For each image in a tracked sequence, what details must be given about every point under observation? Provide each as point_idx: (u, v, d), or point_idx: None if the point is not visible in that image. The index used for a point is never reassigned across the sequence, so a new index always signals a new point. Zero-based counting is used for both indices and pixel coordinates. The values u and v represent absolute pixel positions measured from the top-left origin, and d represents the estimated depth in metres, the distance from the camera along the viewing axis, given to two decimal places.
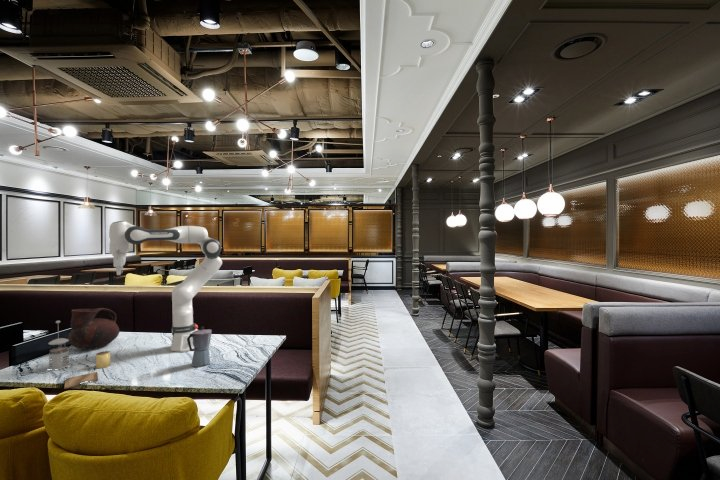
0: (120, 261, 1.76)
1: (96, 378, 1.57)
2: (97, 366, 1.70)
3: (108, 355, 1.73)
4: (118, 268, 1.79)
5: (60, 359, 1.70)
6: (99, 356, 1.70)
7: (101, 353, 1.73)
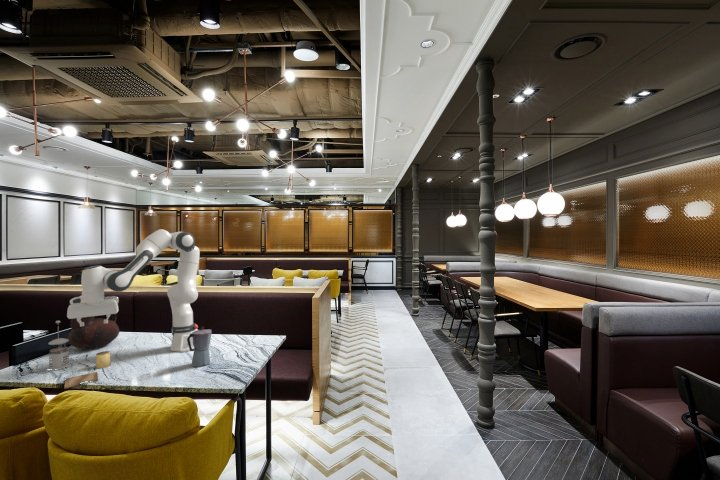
0: (117, 306, 1.72)
1: (96, 378, 1.57)
2: (97, 366, 1.70)
3: (108, 355, 1.73)
4: (109, 315, 1.69)
5: (60, 359, 1.70)
6: (99, 356, 1.70)
7: (101, 353, 1.73)
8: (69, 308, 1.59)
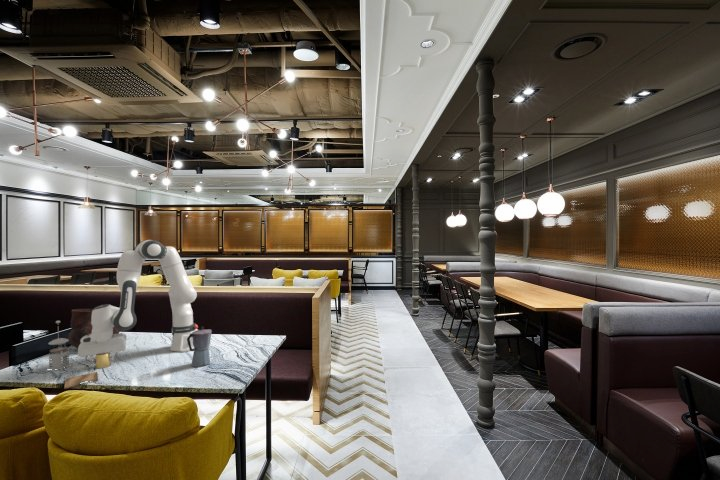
0: (125, 343, 1.79)
1: (96, 378, 1.57)
2: (97, 366, 1.70)
3: (108, 355, 1.73)
4: (115, 352, 1.76)
5: (60, 359, 1.70)
6: (99, 356, 1.70)
7: None
8: (80, 347, 1.67)
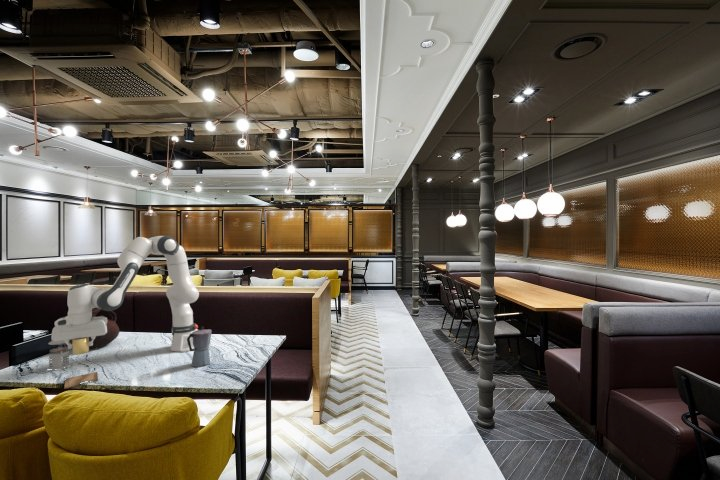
0: (106, 327, 1.62)
1: (96, 378, 1.57)
2: (74, 352, 1.53)
3: (86, 340, 1.56)
4: (95, 337, 1.59)
5: (60, 359, 1.70)
6: (76, 341, 1.53)
7: (78, 338, 1.56)
8: (54, 330, 1.50)
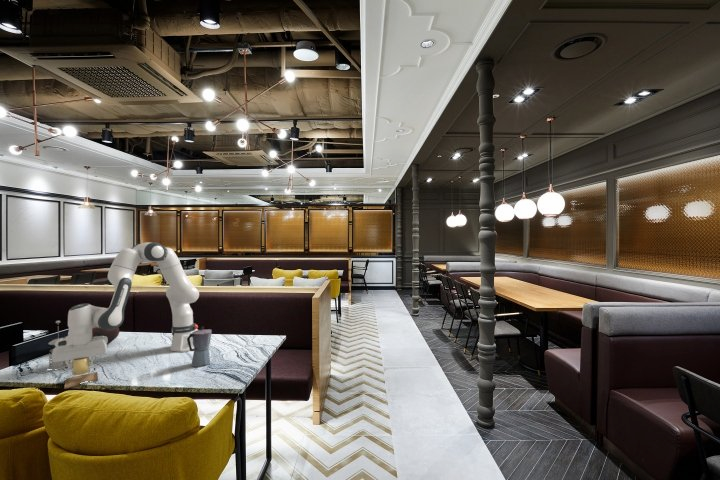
0: (106, 346, 1.62)
1: (96, 378, 1.57)
2: (74, 372, 1.54)
3: (87, 360, 1.56)
4: (95, 357, 1.59)
5: None
6: (76, 361, 1.53)
7: (79, 358, 1.56)
8: (54, 351, 1.50)
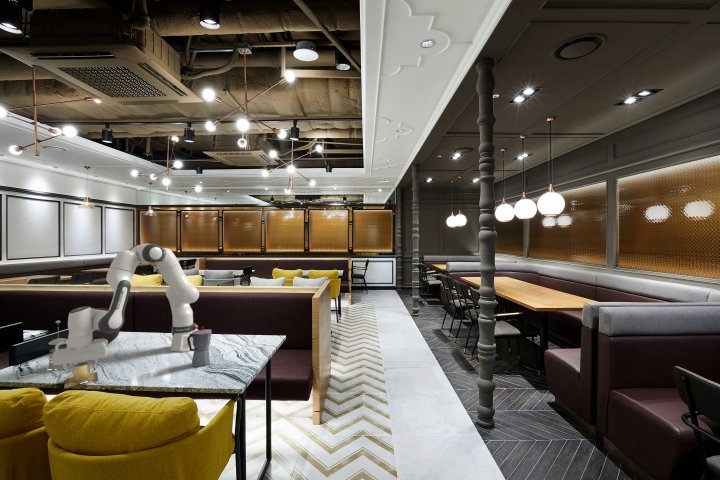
0: None
1: (96, 378, 1.57)
2: (75, 379, 1.54)
3: (87, 366, 1.56)
4: (98, 359, 1.60)
5: None
6: (77, 368, 1.54)
7: (79, 364, 1.56)
8: (54, 354, 1.50)
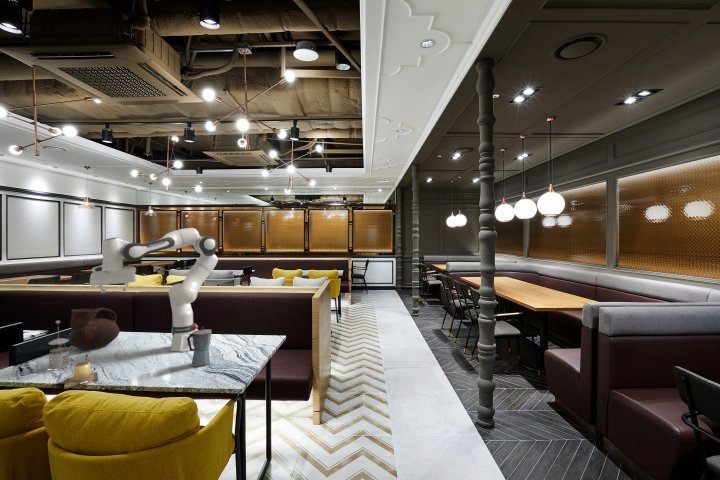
0: None
1: (96, 378, 1.57)
2: (74, 378, 1.54)
3: (87, 366, 1.56)
4: (128, 283, 1.83)
5: (60, 359, 1.70)
6: (77, 367, 1.54)
7: (80, 364, 1.56)
8: (92, 276, 1.73)
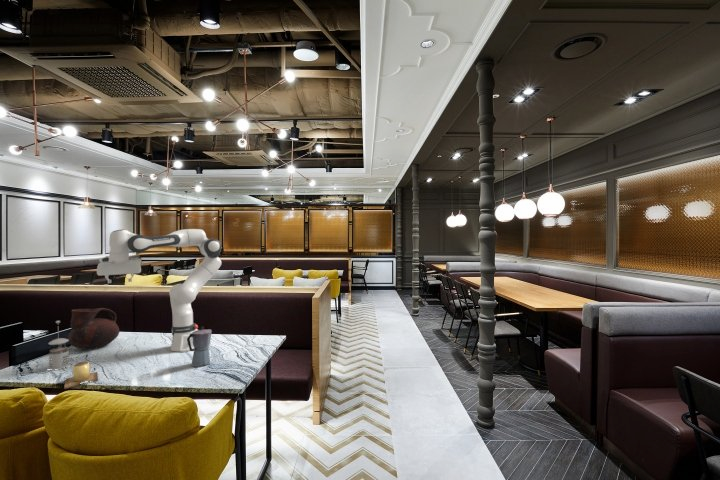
0: None
1: (96, 378, 1.57)
2: (74, 378, 1.54)
3: (86, 366, 1.56)
4: (133, 275, 1.88)
5: (60, 359, 1.70)
6: (76, 367, 1.54)
7: (79, 364, 1.56)
8: (99, 266, 1.78)
